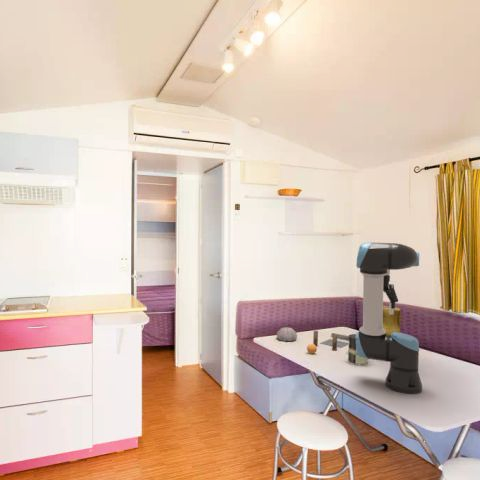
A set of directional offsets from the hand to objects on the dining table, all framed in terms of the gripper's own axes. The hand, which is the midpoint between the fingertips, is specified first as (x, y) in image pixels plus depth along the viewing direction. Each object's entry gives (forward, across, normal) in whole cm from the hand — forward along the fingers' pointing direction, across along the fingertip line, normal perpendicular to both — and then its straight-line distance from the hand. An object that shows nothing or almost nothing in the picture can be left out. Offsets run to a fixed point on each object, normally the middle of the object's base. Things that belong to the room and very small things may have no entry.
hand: (381, 312), depth 218 cm
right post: (+25, +20, +15) cm, 36 cm away
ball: (+23, +20, +33) cm, 44 cm away
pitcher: (+25, +13, -20) cm, 35 cm away
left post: (+25, +32, +20) cm, 46 cm away
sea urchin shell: (+26, +51, +29) cm, 64 cm away
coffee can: (+26, -3, +20) cm, 32 cm away
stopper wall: (+25, +37, -8) cm, 46 cm away
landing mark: (+25, +32, +5) cm, 41 cm away
